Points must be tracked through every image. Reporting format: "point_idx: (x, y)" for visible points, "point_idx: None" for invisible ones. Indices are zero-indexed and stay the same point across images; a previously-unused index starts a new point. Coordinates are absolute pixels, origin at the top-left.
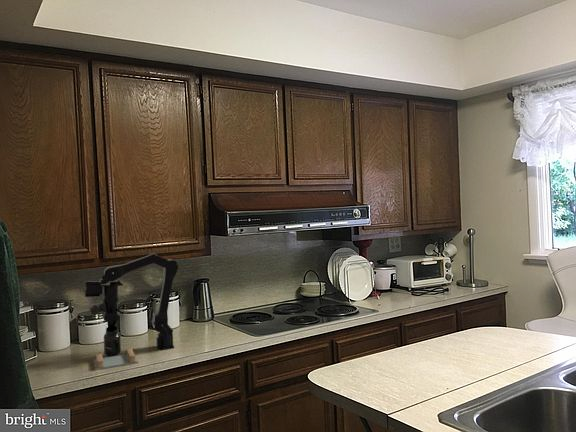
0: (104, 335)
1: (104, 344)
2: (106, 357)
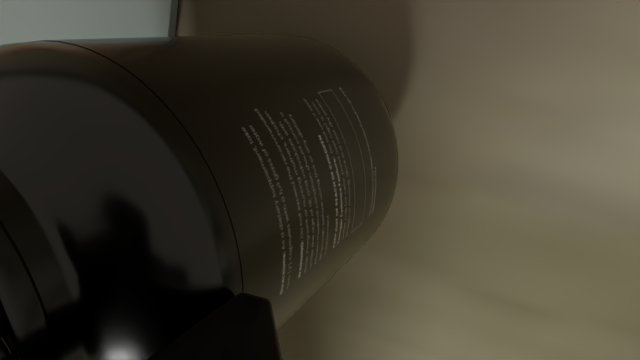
0: (34, 86)
1: (143, 37)
2: (164, 22)
